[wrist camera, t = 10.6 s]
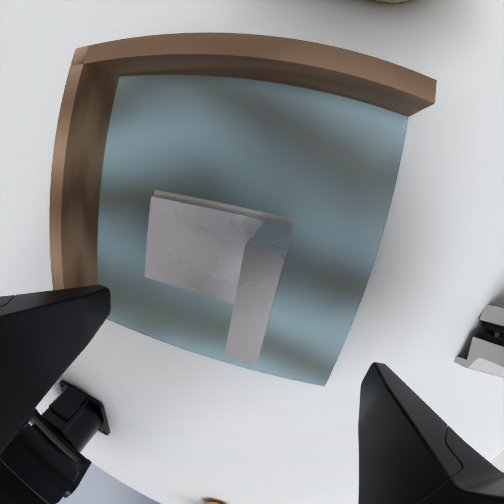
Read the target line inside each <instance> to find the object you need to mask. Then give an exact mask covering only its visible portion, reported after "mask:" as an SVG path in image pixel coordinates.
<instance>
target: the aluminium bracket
mask: <svg viewBox="0 0 504 504" xmlns="http://www.w3.org/2000/svg"><path fill="white" fill-rule="evenodd" d="M293 224H294V223H291V222H287V221H283V220H279V219H274V218H270V217H266V216H261V215H257V214H253V213H248V212H244V211H239V210H235V209H230V208H225V207H221V206H216V205H211V204H207V203H202V202H197V201H192V200H187V199H182V198H177V197H172V196H167V195H162V194H160V195H156V196H151V203H150V212H149V221H148V232H147V244H146V258H145V276H144V277H146V278H150V279H153V280H156V281H159V282H162V283H165V284H169V285H172V286H175V287H178V288H182V289H185V290H188V291H192V292H195V293H199V294H202V295H205V296H209V297H212V298H216V299H220V300H223V301H227V302H230V303H234V306H233V312H232V317H231V322H230V328H229V333H228V338H227V344H226V349H225V354H224V356H225V357H228V358H232V359H235V360H239V361H242V362H246V363H250V364H253V365H256V364H257V361H258V357H259V354H260V351H261V347H262V344H263V341H264V337H265V334H266V330H267V327H268V323H269V320H270V316H271V313H272V309H273V306H274V302H275V298H276V294H277V290H278V286H279V282H280V278H281V274H282V270H283V266H284V262H285V258H286V254H287V250H288V245H289V241H290V237H291V233H292V228H293Z"/></svg>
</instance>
